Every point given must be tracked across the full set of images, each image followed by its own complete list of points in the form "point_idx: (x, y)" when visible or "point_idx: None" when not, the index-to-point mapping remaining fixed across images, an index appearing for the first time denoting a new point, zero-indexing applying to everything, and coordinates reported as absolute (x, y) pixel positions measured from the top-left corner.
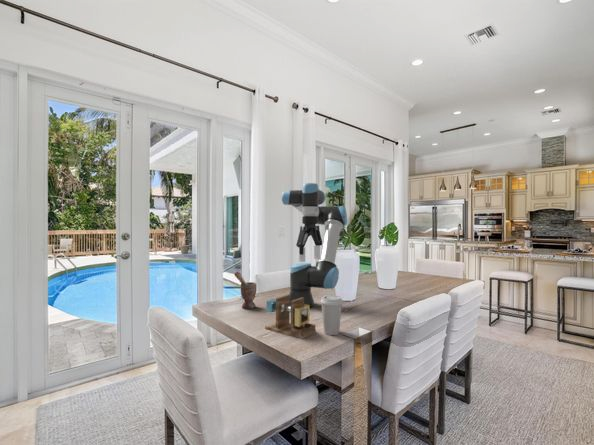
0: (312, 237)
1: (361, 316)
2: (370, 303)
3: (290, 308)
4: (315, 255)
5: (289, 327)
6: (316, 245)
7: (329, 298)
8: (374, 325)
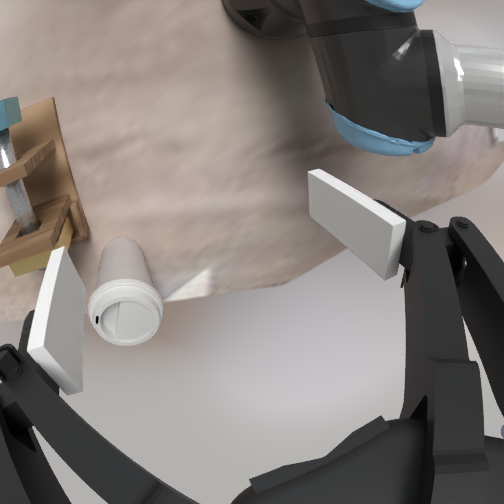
0: (424, 328)
1: (291, 215)
2: (401, 161)
3: (14, 213)
4: (323, 194)
5: (37, 176)
6: (401, 240)
7: (117, 319)
8: (248, 277)
